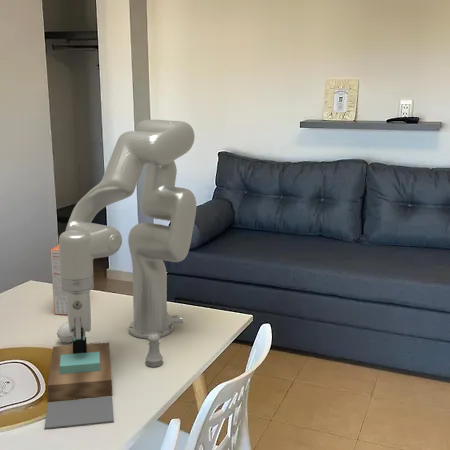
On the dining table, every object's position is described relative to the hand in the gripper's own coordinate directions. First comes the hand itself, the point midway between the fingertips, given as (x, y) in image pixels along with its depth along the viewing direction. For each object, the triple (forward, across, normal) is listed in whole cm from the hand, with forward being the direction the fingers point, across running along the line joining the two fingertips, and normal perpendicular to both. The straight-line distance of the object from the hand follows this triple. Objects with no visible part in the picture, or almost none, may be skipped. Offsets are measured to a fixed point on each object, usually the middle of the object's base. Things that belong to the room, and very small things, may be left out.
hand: (80, 353), depth 143 cm
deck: (+5, -2, 0) cm, 6 cm away
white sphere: (+5, +18, +4) cm, 19 cm away
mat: (+5, -18, 0) cm, 19 cm away
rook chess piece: (+5, +2, -18) cm, 19 cm away
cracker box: (+5, +45, +4) cm, 45 cm away
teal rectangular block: (+1, -4, 0) cm, 5 cm away
